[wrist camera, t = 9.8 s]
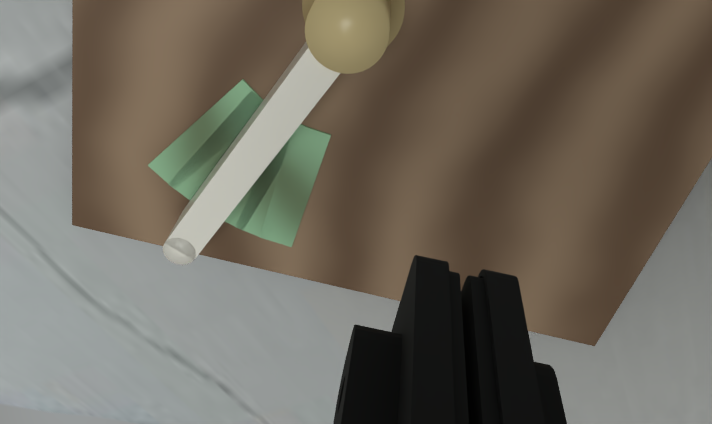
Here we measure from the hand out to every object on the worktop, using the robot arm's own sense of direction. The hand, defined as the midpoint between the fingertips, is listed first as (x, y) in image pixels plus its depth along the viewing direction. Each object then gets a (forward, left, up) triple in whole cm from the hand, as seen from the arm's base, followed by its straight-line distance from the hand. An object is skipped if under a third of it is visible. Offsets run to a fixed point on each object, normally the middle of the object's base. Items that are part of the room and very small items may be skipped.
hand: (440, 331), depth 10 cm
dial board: (0, +5, -21) cm, 21 cm away
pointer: (+5, +6, -19) cm, 21 cm away
